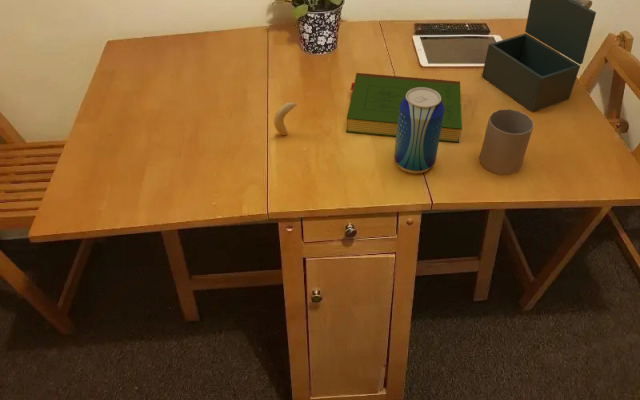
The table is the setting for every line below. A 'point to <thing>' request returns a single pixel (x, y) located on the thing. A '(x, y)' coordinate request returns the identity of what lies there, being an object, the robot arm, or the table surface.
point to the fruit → (280, 117)
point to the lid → (562, 25)
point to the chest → (530, 72)
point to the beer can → (418, 130)
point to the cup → (506, 141)
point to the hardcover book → (398, 104)
